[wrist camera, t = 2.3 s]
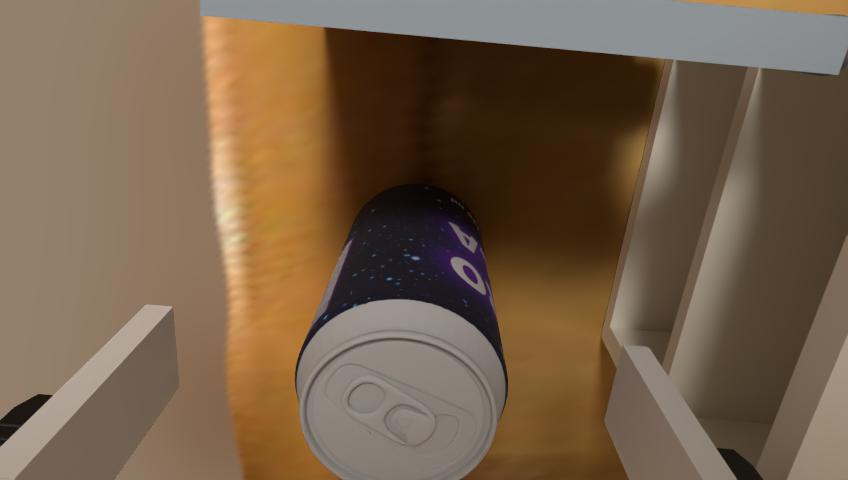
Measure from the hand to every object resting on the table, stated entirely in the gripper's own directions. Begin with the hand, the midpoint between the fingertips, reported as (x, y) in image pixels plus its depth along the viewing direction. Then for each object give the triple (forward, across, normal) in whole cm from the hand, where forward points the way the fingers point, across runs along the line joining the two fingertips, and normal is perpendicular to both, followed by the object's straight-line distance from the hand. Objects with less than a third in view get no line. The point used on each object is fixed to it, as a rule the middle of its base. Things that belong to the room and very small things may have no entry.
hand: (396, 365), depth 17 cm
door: (+8, +3, +10) cm, 14 cm away
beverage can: (+9, 0, 0) cm, 9 cm away
